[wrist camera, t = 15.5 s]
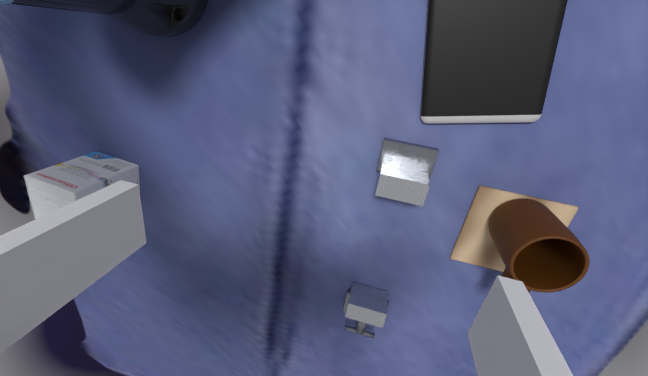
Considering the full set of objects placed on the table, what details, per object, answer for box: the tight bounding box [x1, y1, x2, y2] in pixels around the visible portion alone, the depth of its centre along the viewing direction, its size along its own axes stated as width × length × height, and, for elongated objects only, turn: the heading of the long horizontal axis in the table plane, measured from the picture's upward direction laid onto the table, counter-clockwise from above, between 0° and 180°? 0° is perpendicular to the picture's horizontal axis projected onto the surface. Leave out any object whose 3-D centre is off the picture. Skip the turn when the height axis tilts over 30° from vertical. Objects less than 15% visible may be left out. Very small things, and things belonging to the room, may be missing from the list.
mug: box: [488, 198, 589, 292], centre depth 37 cm, size 12×8×9 cm, turn 167°
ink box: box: [24, 151, 140, 220], centre depth 49 cm, size 8×8×12 cm
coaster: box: [450, 185, 578, 272], centre depth 42 cm, size 12×12×1 cm
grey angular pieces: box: [343, 138, 438, 338], centre depth 45 cm, size 7×33×5 cm, turn 172°
